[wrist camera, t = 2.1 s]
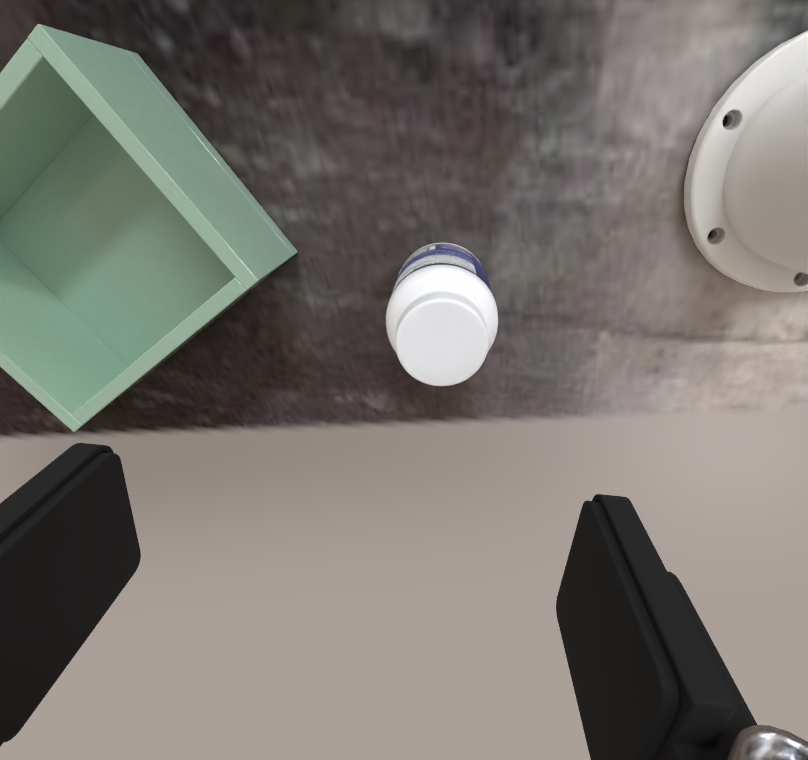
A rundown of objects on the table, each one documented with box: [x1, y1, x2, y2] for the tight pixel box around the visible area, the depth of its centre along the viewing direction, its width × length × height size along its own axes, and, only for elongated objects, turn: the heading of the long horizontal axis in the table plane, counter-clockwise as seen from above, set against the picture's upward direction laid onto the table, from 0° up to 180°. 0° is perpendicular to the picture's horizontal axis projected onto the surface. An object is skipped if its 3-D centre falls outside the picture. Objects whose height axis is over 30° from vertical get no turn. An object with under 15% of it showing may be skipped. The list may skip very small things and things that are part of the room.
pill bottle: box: [386, 243, 498, 386], centre depth 25 cm, size 5×5×10 cm
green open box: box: [0, 24, 297, 432], centre depth 27 cm, size 15×13×7 cm
